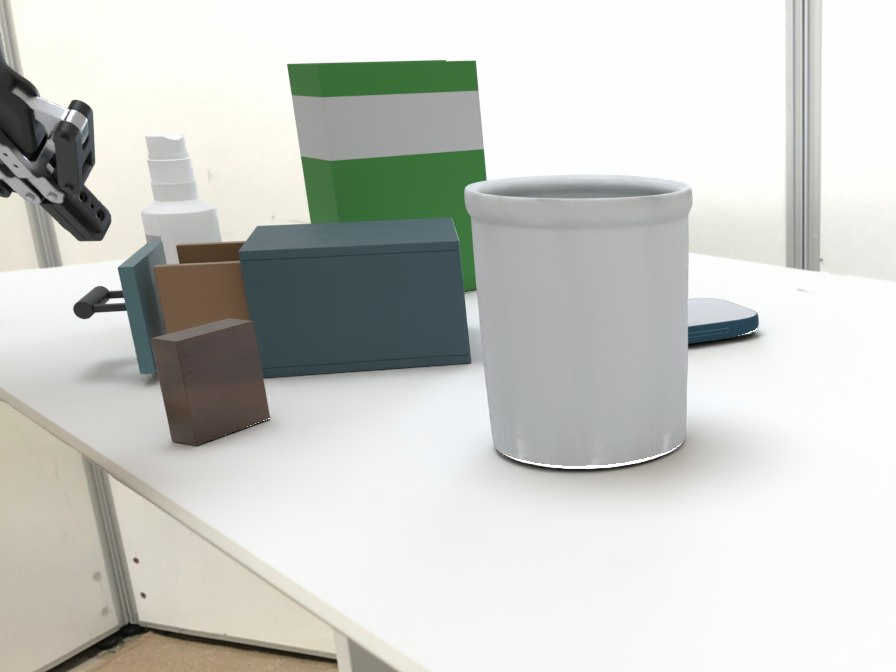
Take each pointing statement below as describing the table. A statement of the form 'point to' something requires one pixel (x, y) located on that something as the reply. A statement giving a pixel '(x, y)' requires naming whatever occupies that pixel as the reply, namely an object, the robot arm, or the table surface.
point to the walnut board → (211, 380)
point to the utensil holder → (583, 314)
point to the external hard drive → (718, 319)
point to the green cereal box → (390, 142)
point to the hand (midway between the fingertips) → (97, 231)
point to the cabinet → (356, 296)
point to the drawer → (173, 292)
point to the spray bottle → (176, 199)
